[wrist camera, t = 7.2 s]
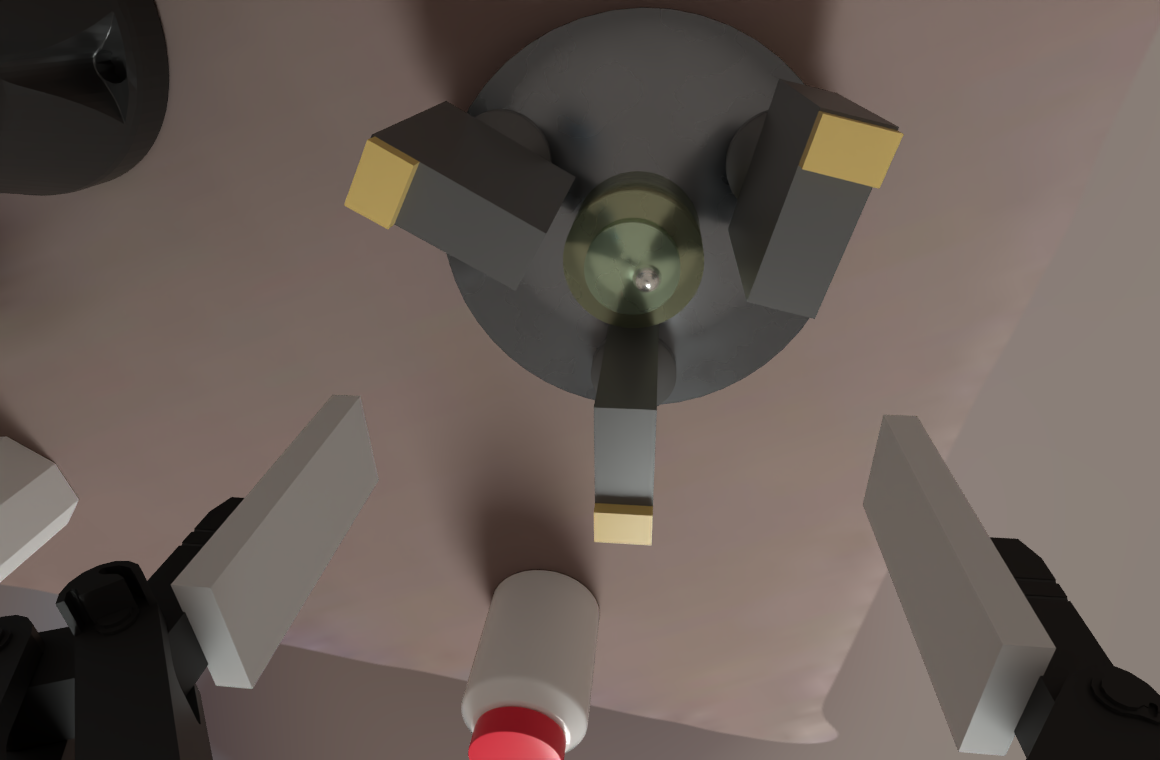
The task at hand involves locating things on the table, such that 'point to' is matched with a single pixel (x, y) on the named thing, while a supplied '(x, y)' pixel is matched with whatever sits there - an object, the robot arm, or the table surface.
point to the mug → (29, 503)
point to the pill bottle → (532, 669)
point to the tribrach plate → (636, 127)
